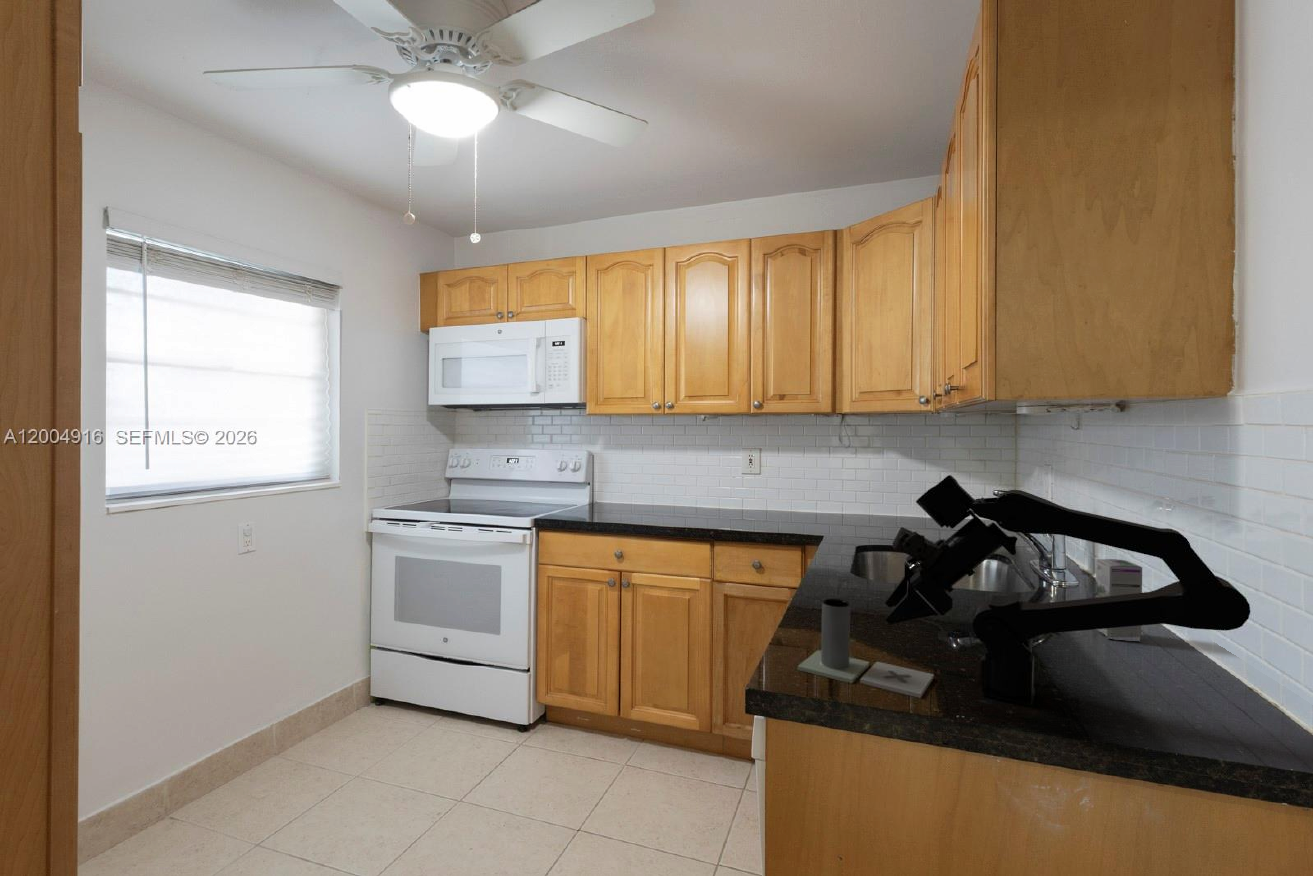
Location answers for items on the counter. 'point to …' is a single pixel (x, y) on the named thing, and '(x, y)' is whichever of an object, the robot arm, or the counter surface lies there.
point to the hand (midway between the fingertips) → (887, 613)
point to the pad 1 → (842, 674)
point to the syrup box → (1118, 588)
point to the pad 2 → (897, 679)
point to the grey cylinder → (835, 633)
